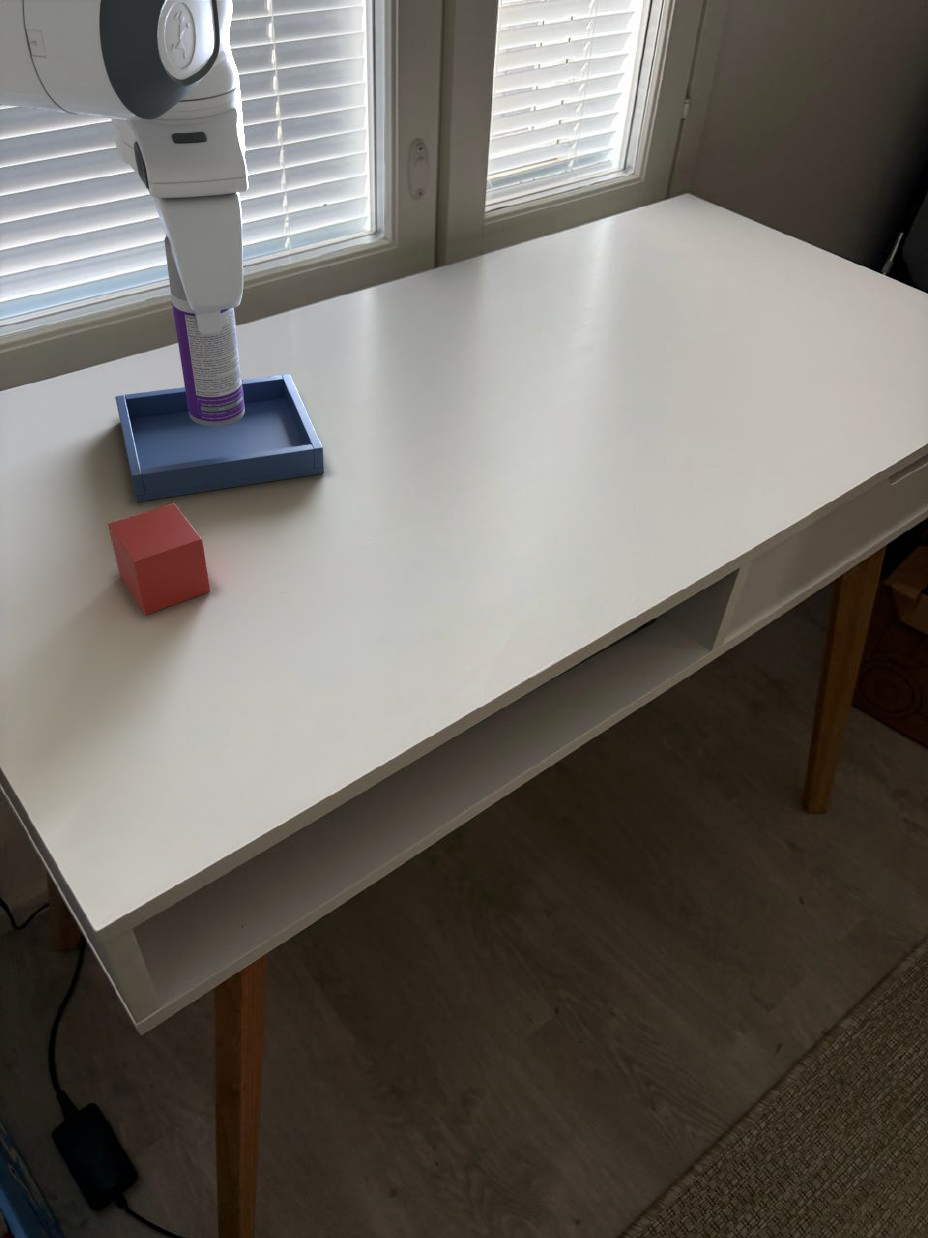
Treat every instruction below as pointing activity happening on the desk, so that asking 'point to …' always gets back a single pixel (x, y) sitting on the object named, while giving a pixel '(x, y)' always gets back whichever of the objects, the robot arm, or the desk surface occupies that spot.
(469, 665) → the desk surface
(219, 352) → the container
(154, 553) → the red block
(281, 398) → the tray
